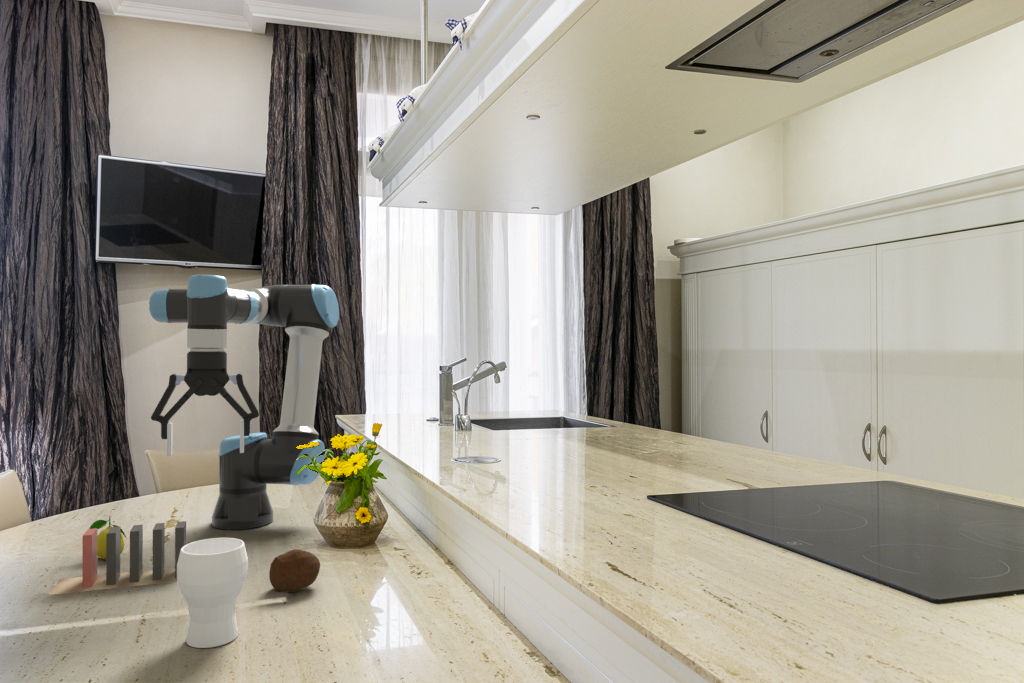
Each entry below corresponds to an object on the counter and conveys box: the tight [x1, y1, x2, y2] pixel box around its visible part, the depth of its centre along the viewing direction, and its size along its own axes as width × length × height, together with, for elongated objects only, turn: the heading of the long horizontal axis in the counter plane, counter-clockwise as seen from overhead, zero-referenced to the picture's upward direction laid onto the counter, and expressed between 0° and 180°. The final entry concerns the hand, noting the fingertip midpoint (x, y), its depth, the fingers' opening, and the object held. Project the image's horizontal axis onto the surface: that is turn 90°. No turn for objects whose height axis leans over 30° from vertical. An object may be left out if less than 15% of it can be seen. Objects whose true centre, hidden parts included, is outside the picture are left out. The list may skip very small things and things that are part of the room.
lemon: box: [88, 515, 127, 561], centre depth 151 cm, size 7×6×10 cm
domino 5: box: [174, 520, 187, 578], centre depth 141 cm, size 2×5×10 cm, turn 21°
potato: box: [268, 548, 321, 594], centre depth 135 cm, size 7×10×8 cm
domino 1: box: [81, 528, 99, 588], centre depth 136 cm, size 2×5×10 cm, turn 21°
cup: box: [176, 537, 249, 649], centre depth 113 cm, size 11×11×15 cm
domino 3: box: [129, 524, 144, 583], centre depth 139 cm, size 2×5×10 cm, turn 21°
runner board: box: [47, 567, 178, 596], centre depth 138 cm, size 26×9×1 cm, turn 111°
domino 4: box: [152, 522, 166, 580], centre depth 140 cm, size 2×5×10 cm, turn 21°
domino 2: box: [105, 525, 121, 585], centre depth 137 cm, size 2×5×10 cm, turn 21°
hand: (206, 453), depth 143 cm, fingers open, 13 cm apart
